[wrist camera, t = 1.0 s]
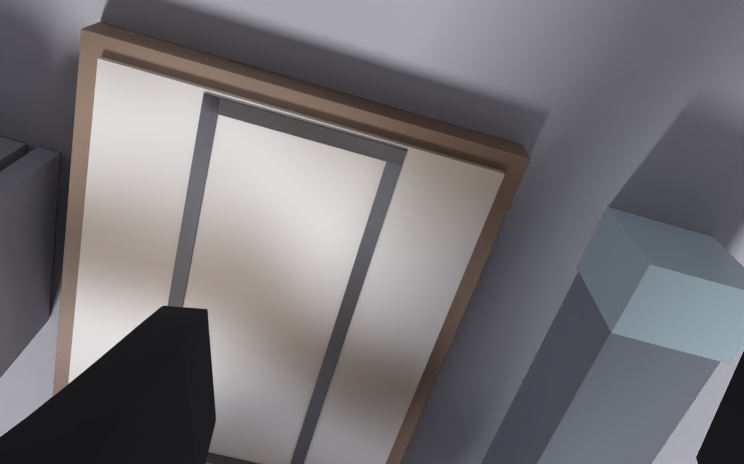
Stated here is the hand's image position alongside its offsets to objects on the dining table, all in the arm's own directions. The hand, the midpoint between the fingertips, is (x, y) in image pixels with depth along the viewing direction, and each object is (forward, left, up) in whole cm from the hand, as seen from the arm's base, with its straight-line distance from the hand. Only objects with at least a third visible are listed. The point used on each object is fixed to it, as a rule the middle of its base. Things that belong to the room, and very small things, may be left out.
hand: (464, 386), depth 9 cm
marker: (-5, -7, -9) cm, 13 cm away
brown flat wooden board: (-5, +3, -9) cm, 11 cm away
